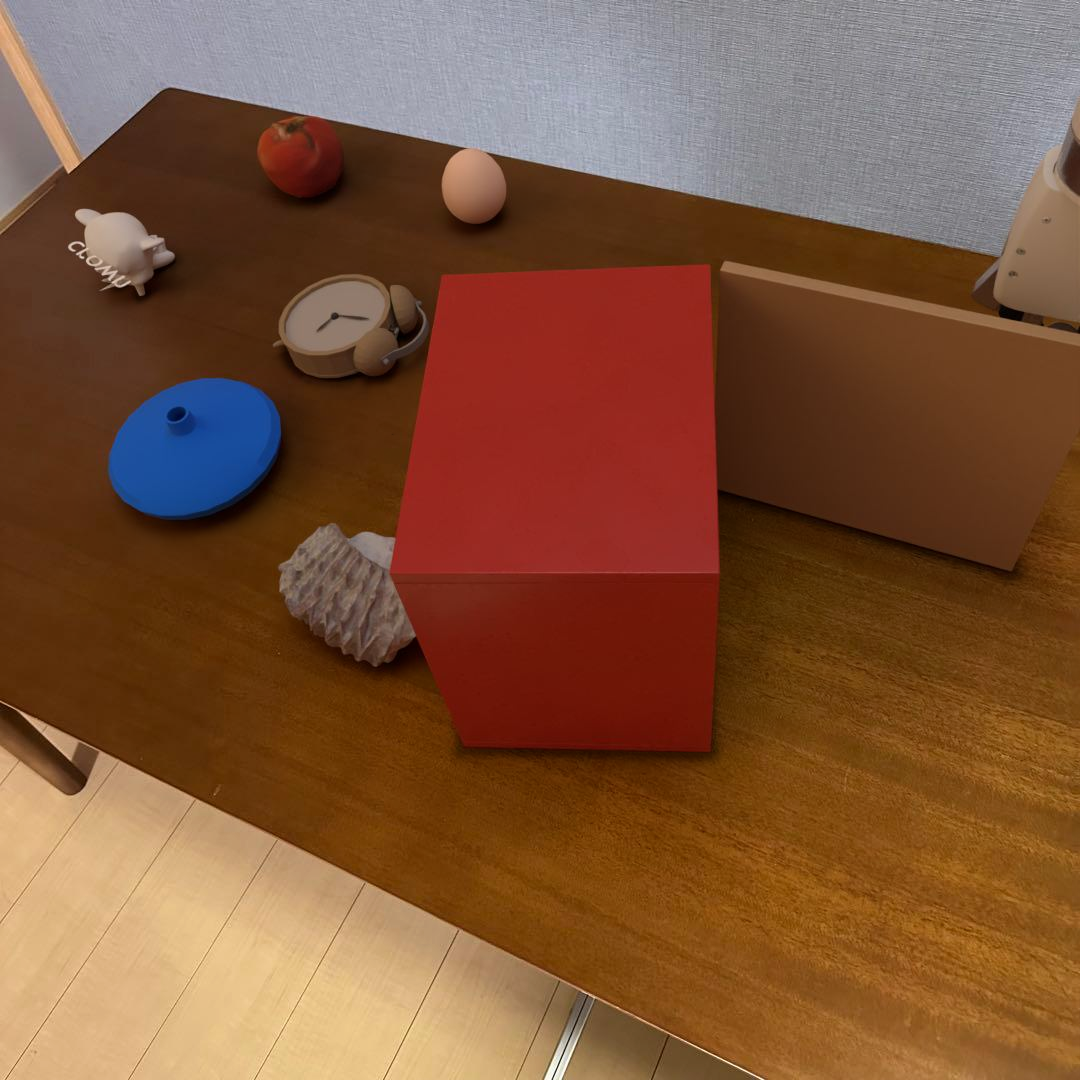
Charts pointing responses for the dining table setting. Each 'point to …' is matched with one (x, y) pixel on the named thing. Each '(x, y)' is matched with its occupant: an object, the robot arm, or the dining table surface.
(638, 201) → the dining table surface
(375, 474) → the dining table surface
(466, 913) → the dining table surface
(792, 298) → the door
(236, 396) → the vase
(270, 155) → the tomato
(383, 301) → the alarm clock
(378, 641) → the seashell
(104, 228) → the figurine
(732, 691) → the dining table surface
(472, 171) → the egg
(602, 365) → the box
